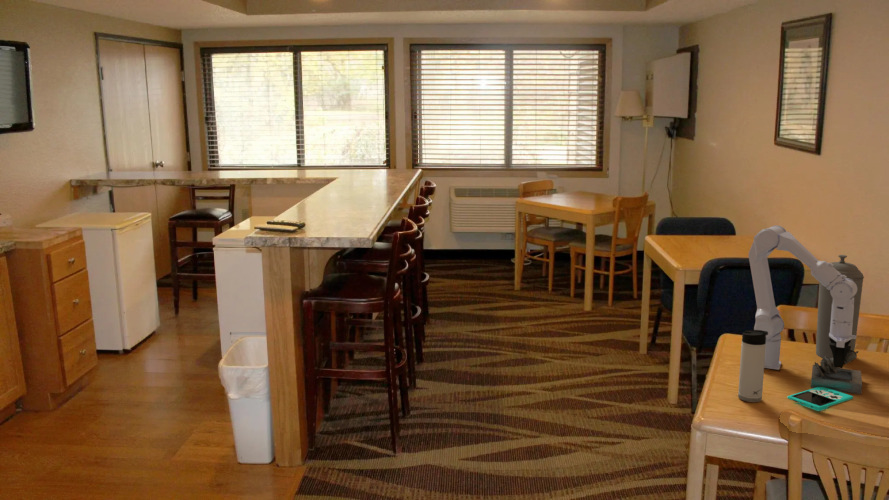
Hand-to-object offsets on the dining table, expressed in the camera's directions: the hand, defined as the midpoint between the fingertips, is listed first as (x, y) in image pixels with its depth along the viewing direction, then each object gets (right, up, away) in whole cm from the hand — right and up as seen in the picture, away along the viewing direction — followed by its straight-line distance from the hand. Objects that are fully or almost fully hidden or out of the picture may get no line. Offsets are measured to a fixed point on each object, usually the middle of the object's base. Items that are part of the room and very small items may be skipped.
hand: (838, 364), depth 215 cm
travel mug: (-30, -8, -10) cm, 33 cm away
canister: (+11, -2, +23) cm, 26 cm away
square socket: (0, -6, +1) cm, 6 cm away
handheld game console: (-11, -9, -10) cm, 17 cm away
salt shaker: (-5, -2, +2) cm, 6 cm away
